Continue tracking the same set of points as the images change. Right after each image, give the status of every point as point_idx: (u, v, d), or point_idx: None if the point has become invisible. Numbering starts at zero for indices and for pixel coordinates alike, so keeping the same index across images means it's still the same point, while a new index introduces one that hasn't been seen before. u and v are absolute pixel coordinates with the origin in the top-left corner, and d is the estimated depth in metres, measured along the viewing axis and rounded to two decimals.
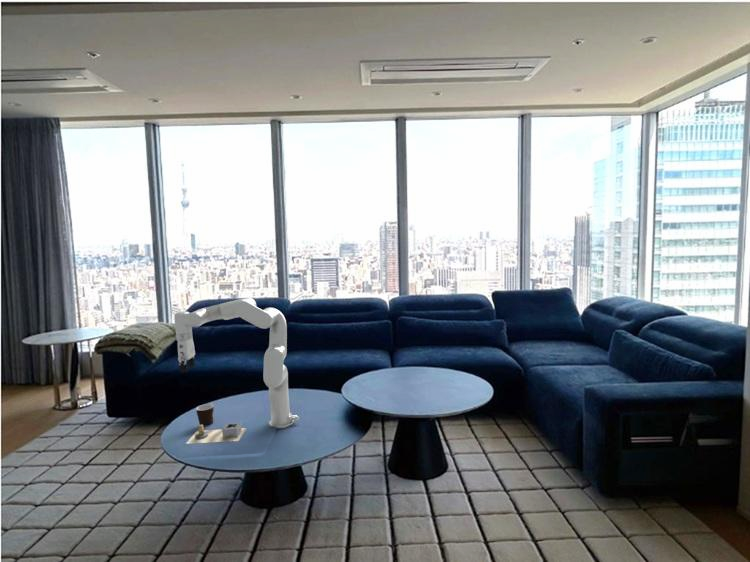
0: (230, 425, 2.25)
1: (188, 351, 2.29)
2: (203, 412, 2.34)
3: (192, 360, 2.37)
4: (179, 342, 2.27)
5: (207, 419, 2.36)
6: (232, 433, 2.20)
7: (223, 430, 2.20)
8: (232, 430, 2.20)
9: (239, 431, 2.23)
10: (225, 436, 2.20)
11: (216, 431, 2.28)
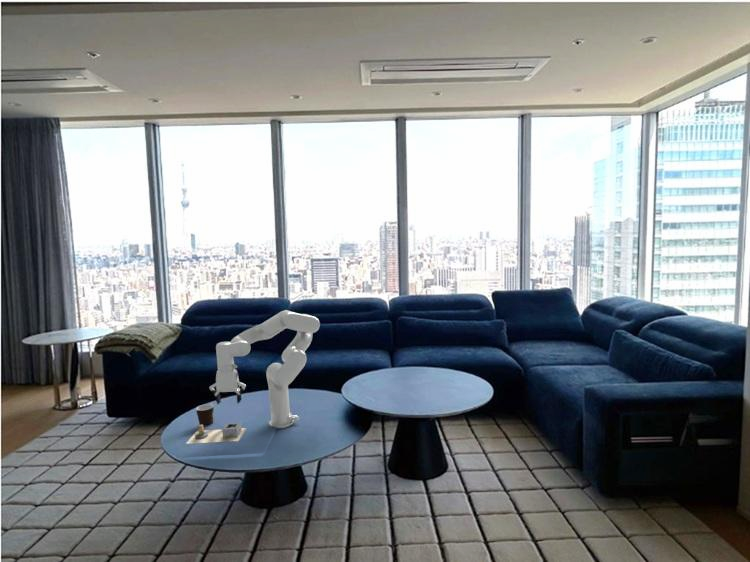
0: (230, 425, 2.25)
1: None
2: (203, 412, 2.34)
3: (219, 395, 2.22)
4: (235, 372, 2.19)
5: (207, 419, 2.36)
6: (232, 433, 2.20)
7: (223, 430, 2.20)
8: (232, 430, 2.20)
9: (239, 431, 2.23)
10: (225, 436, 2.20)
11: (216, 431, 2.28)
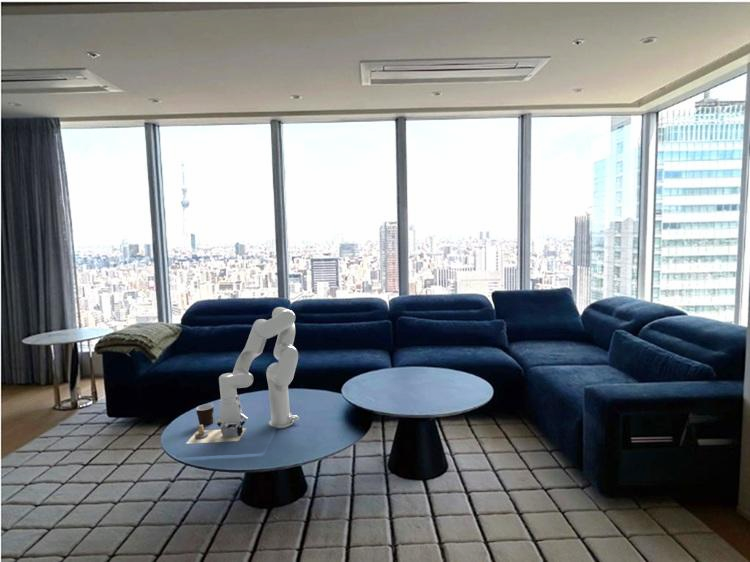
0: (230, 425, 2.25)
1: None
2: (203, 412, 2.34)
3: None
4: (238, 403, 2.21)
5: (207, 419, 2.36)
6: (232, 433, 2.20)
7: (223, 430, 2.20)
8: (232, 430, 2.20)
9: None
10: (225, 436, 2.20)
11: (216, 431, 2.28)
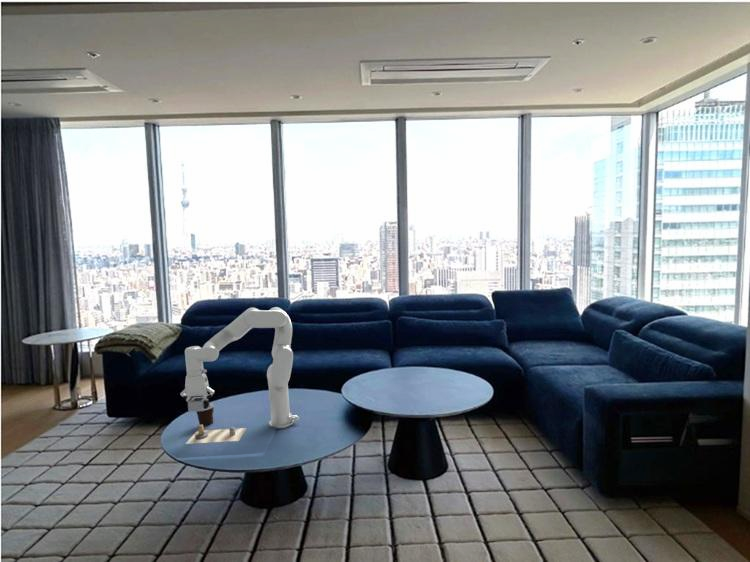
0: (197, 399, 2.24)
1: None
2: (203, 412, 2.34)
3: None
4: (204, 376, 2.19)
5: (207, 419, 2.36)
6: (198, 406, 2.18)
7: (189, 403, 2.18)
8: (198, 403, 2.18)
9: None
10: (191, 409, 2.18)
11: (216, 431, 2.28)
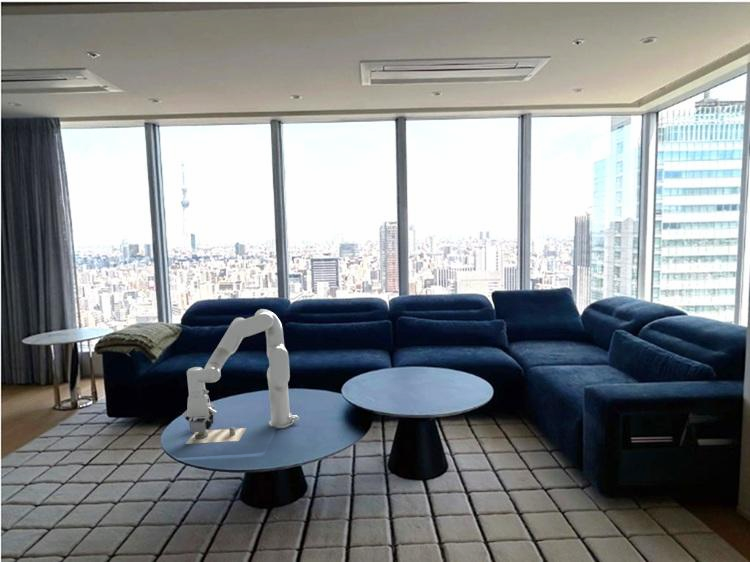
0: (199, 419, 2.25)
1: None
2: None
3: None
4: (206, 397, 2.21)
5: None
6: (200, 427, 2.19)
7: (191, 424, 2.19)
8: (200, 424, 2.19)
9: None
10: (193, 430, 2.19)
11: (216, 431, 2.28)
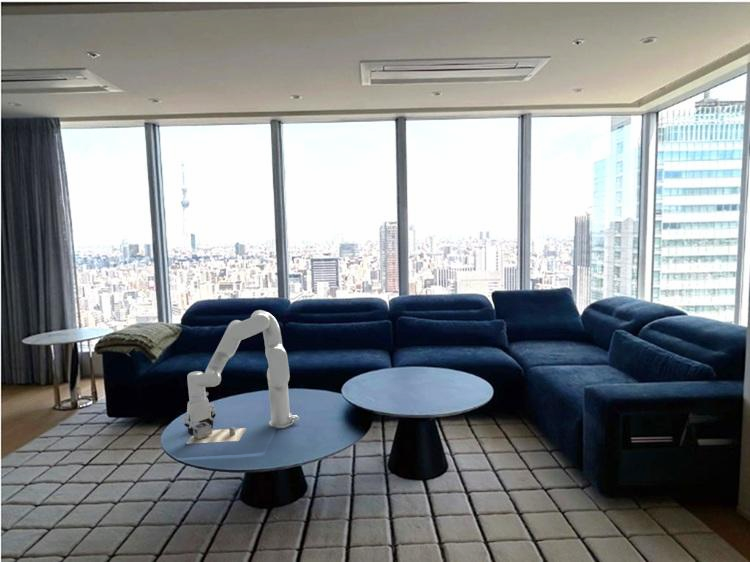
0: (196, 426, 2.24)
1: None
2: None
3: None
4: (207, 399, 2.24)
5: (207, 419, 2.36)
6: (207, 431, 2.22)
7: (198, 430, 2.19)
8: (207, 428, 2.22)
9: None
10: (200, 436, 2.19)
11: (216, 431, 2.28)
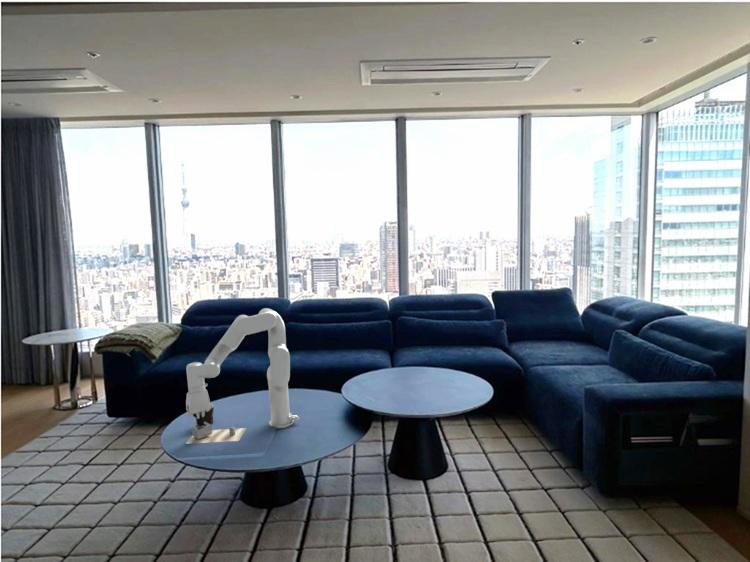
0: (196, 426, 2.24)
1: None
2: None
3: None
4: (206, 390, 2.23)
5: (207, 419, 2.36)
6: (207, 431, 2.22)
7: (198, 430, 2.19)
8: (207, 428, 2.22)
9: None
10: (200, 436, 2.19)
11: (216, 431, 2.28)
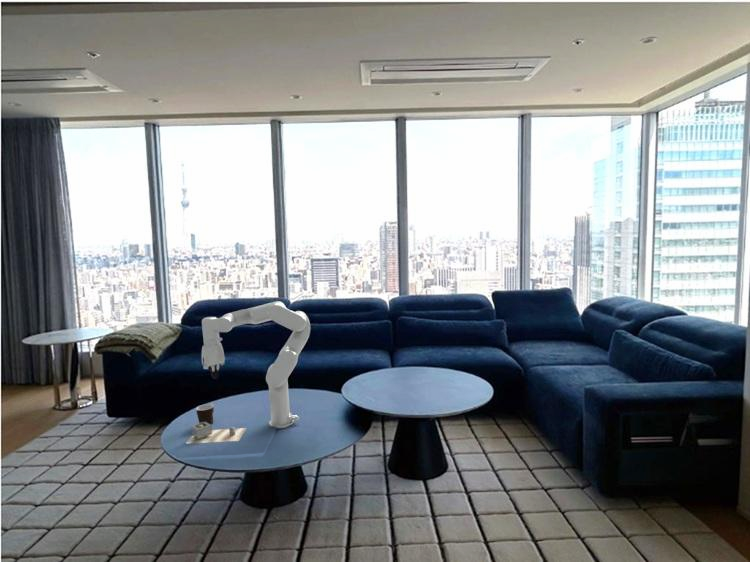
0: (196, 426, 2.24)
1: None
2: (203, 412, 2.34)
3: None
4: None
5: (207, 419, 2.36)
6: (207, 431, 2.22)
7: (198, 430, 2.19)
8: (207, 428, 2.22)
9: None
10: (200, 436, 2.19)
11: (216, 431, 2.28)
